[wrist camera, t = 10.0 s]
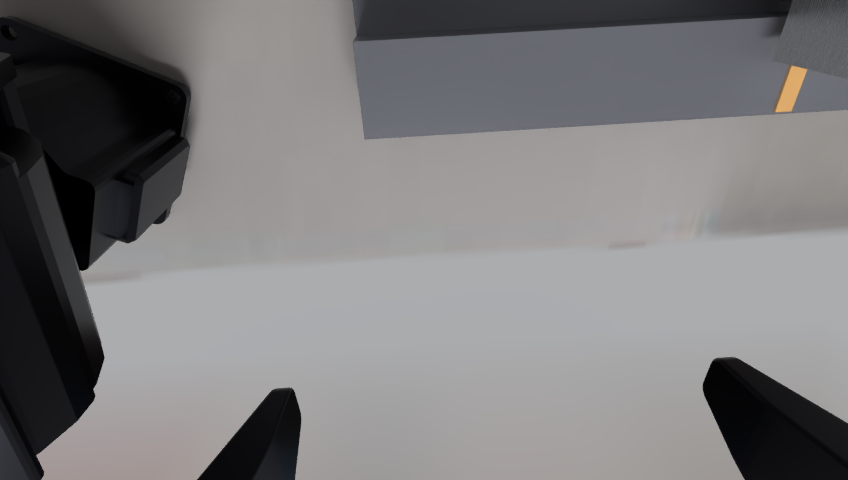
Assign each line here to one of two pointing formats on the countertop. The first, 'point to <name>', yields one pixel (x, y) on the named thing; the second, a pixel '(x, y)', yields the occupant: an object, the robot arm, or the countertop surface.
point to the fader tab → (815, 36)
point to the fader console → (574, 64)
